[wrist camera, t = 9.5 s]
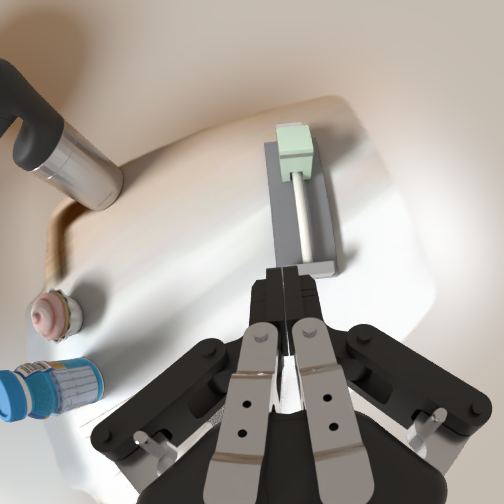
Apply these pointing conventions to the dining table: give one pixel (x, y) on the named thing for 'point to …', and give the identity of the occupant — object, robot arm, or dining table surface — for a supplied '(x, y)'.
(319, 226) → the grey slide rail
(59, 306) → the cupcake
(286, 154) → the notched mint block
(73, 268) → the dining table surface
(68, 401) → the beverage bottle
